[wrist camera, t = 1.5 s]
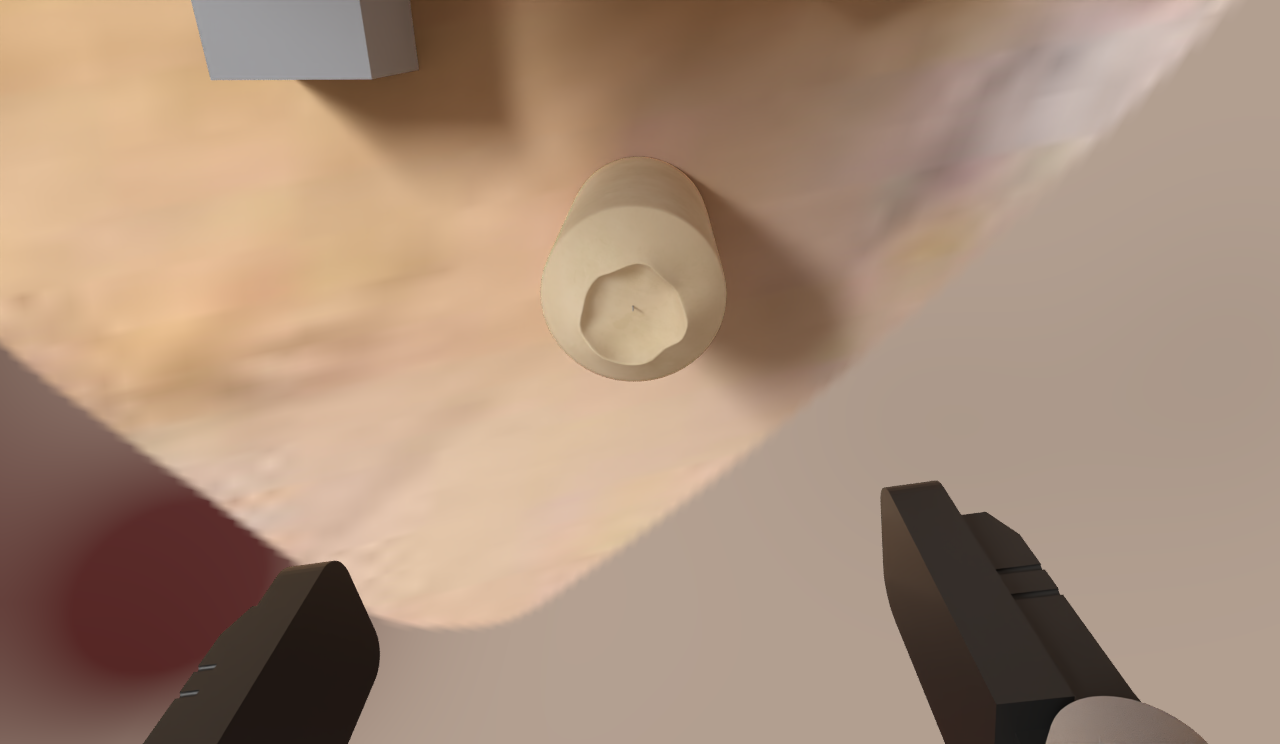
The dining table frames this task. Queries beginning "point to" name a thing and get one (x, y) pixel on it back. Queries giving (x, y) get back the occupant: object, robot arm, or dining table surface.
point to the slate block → (306, 39)
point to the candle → (635, 273)
